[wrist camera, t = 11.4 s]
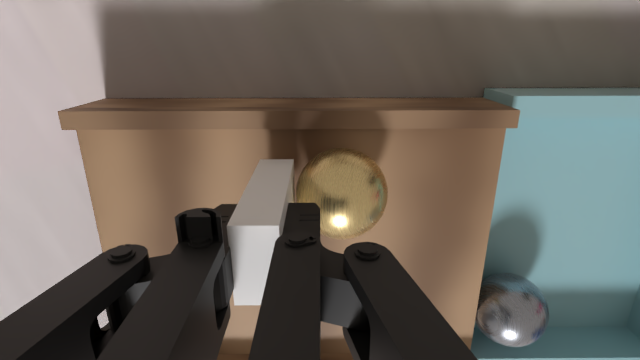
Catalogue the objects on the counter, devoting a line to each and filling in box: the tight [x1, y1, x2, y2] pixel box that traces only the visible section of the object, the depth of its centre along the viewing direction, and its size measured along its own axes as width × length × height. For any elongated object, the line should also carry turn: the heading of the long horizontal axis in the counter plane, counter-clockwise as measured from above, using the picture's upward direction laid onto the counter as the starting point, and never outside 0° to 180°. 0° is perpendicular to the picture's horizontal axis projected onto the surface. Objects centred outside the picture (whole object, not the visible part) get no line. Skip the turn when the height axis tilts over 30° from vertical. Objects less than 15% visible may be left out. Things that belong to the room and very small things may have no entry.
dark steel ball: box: [475, 273, 549, 347], centre depth 22 cm, size 4×4×4 cm
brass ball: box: [296, 148, 388, 239], centre depth 17 cm, size 4×4×4 cm
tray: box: [470, 88, 640, 360], centre depth 22 cm, size 12×16×3 cm
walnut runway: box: [58, 98, 520, 360], centre depth 21 cm, size 20×15×4 cm
